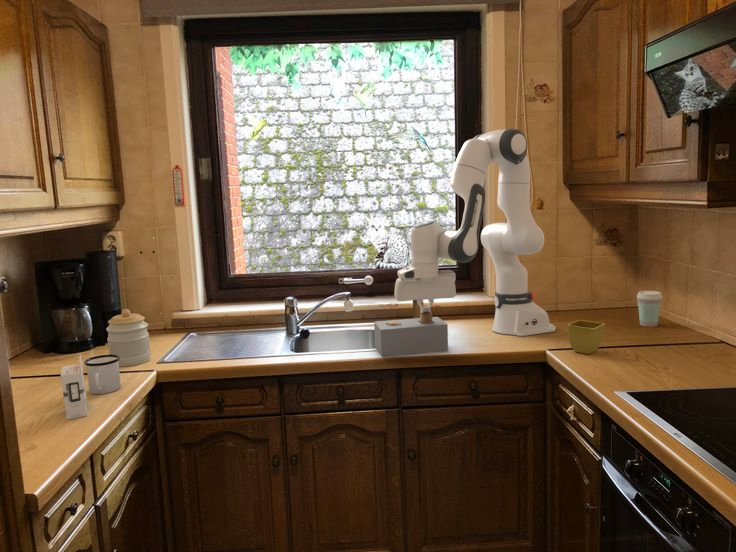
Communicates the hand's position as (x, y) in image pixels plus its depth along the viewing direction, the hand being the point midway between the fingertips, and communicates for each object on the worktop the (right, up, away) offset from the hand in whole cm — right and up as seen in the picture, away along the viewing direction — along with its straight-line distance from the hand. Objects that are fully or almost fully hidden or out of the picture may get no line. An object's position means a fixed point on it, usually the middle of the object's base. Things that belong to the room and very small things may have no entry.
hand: (425, 312), depth 204 cm
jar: (-98, -16, +1) cm, 99 cm away
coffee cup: (+83, -6, +21) cm, 86 cm away
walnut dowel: (+1, -9, +1) cm, 9 cm away
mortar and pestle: (0, -8, +28) cm, 29 cm away
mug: (-94, -21, -29) cm, 100 cm away
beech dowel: (-10, -12, 0) cm, 16 cm away
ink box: (-94, -23, -45) cm, 107 cm away
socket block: (-5, -12, +1) cm, 13 cm away
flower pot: (+50, -12, -10) cm, 52 cm away
